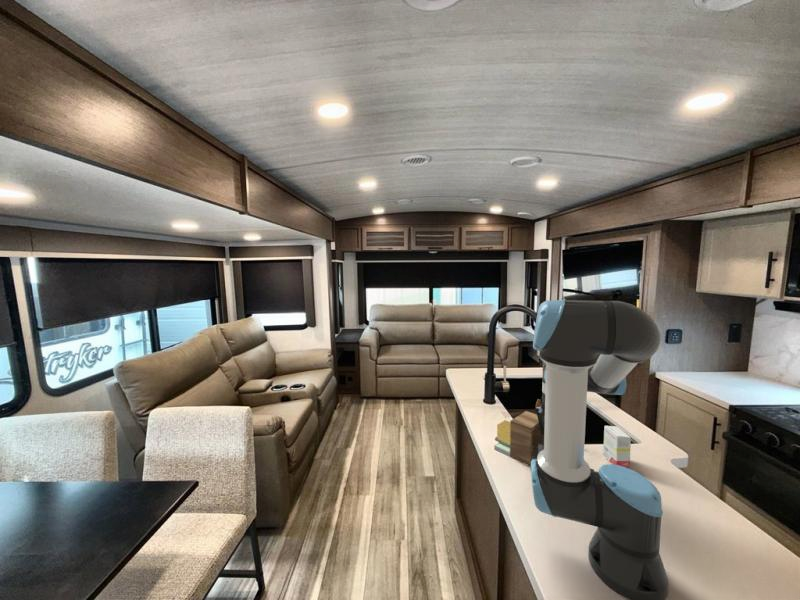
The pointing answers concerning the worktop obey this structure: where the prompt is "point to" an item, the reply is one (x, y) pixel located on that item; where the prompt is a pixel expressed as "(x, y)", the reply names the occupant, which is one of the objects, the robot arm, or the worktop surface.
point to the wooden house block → (524, 436)
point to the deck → (504, 449)
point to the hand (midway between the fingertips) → (552, 456)
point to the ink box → (617, 446)
